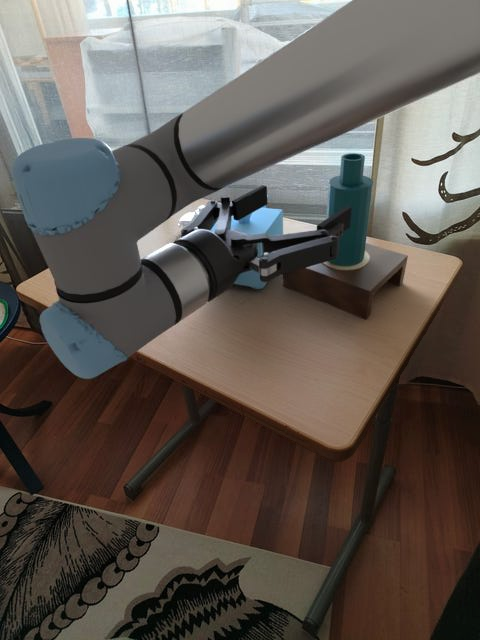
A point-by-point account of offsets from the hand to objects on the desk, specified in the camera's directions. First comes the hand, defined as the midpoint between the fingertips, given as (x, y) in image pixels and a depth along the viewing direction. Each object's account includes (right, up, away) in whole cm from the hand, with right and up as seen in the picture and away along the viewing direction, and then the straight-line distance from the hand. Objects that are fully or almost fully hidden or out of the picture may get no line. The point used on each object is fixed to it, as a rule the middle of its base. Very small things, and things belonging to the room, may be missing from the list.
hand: (304, 204), depth 57 cm
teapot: (-6, -5, +31) cm, 32 cm away
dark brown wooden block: (+11, -9, +24) cm, 28 cm away
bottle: (+10, -4, +21) cm, 23 cm away
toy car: (-17, +6, +47) cm, 50 cm away
